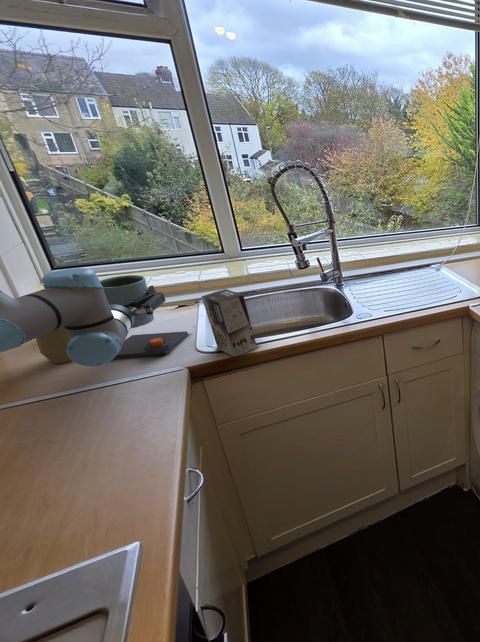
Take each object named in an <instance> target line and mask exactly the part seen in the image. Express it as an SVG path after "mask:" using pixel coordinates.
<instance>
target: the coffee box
mask: <svg viewBox="0 0 480 642" xmlns="http://www.w3.org/2000/svg"><path fill="white" fill-rule="evenodd" d="M201 300H202V303H203V306H204V309H205V313H206V315H207V319H208V322H209V325H210V328H211V331H212V334H213V338H214V340H215V344H216V347H217V349H218V350H220V351H222V352H224V353H226V354H228V355H230V356H232V357H234V358H235V357H237V356H238V357H239V356H240V355H242V354H245V353H248V352H251V351H252V350H255V349H257V341H256V338H255V334H254V331H253V327H252V323H251V318H250V315H249V312H248V308H247V303H246V299H245V295H244V294H241V293H239V292H236V291H233V290H230V289H226V288H224V289H220V290H217V291H214V292H212V293H211V292H210V293H208V294H204V295H201Z"/></svg>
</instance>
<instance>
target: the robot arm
mask: <svg viewBox="0 0 480 642" xmlns="http://www.w3.org/2000/svg"><path fill="white" fill-rule="evenodd" d="M41 281H42V287H43V289H40V290H36V291H34V292H31V293H30V292H29V293H28V294H25V295H22V296H19V297H16V298H13V297H11V296H10V295H8V294H7V293H5V292H3V291H2V290H0V354H1V353H4V352H8V351H10V350H12V349H13V350H14V349H16V348H19V347H20V346H22V345H24V344H25V343H28V342H31V341H32V340H36V338H37V337H39V336H42V335H44V334H46V333H48V332H51V331H53V330H56V329H58V328H61V327H63V326H64V328H65V330H66V332H67V334H68V336H69V338H70V340H69V343H68V344H67V345H68V346H67V355H68V357H69V358H70V359H71V360H72V361H71V362H74V363H75V364H77V365H80V366H83V367H99V366H103V365H106V364H109V363H110V362H111V361H113V360H115V359H114V358H115V356H116V355H117V354H118V353H119V352H120V350H121V348H122V345H123V343H124V341H125V340H126V339H127V337H128V334H129V332H130V331H131V329H132V328H131V327H132V325H133V323H134V319H135V317H136V316H138V315H139V313H145V314H146V313H147V315H151V314H153V315H154V311H155V310H157V309H158V308H159V307H160V306H161V305H163V304H164V303H165V302H166V301H167V300H166V297H165V293H164V292H163V291H159V292H158V290H156V289H155V287H154V285H149V286H148V287H147V292H146V296H144V297H141V298H139V299H137V300H135V301H130V302H127V303H125V304H122V305H117V304H109V303H108V301H107V298H106V295H105V293H104V290H103V286H102V285H101V283H100V281H101V280H100V279H99V277H98V276H97V274H96V272H95V271H93V270H92V269H90V268H86V267H85V268H84V267H73V268H66V269H60V270H56V271H52V272H49V273H47V274H45V275H44V276H42V278H41Z"/></svg>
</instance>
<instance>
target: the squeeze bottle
mask: <svg viewBox="0 0 480 642" xmlns="http://www.w3.org/2000/svg"><path fill="white" fill-rule="evenodd" d="M69 340H70V338H69V336H68V334H67V332H66V330H65V328H64V326H63V327H61V328H58V329H56V330H53V331H51V332H48V333H46V334H44V335H42V336H39V337H37V338H35V341H36V344H37V347H38V350H39V353H40V354H41V355H42V356H44V358H46V359H47V360H48V361H49V362H51V363H52V364H65V363H69V362H73V361H72V360H71V359H70V358H69V357H68V355H67V346H68V345H67V344H68V343H69Z"/></svg>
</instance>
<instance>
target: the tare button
mask: <svg viewBox="0 0 480 642" xmlns="http://www.w3.org/2000/svg"><path fill="white" fill-rule="evenodd" d="M150 344H151V347H156V346H160V345H162V344H164V343H163V340H162V338H155V339H152V340H150Z"/></svg>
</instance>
